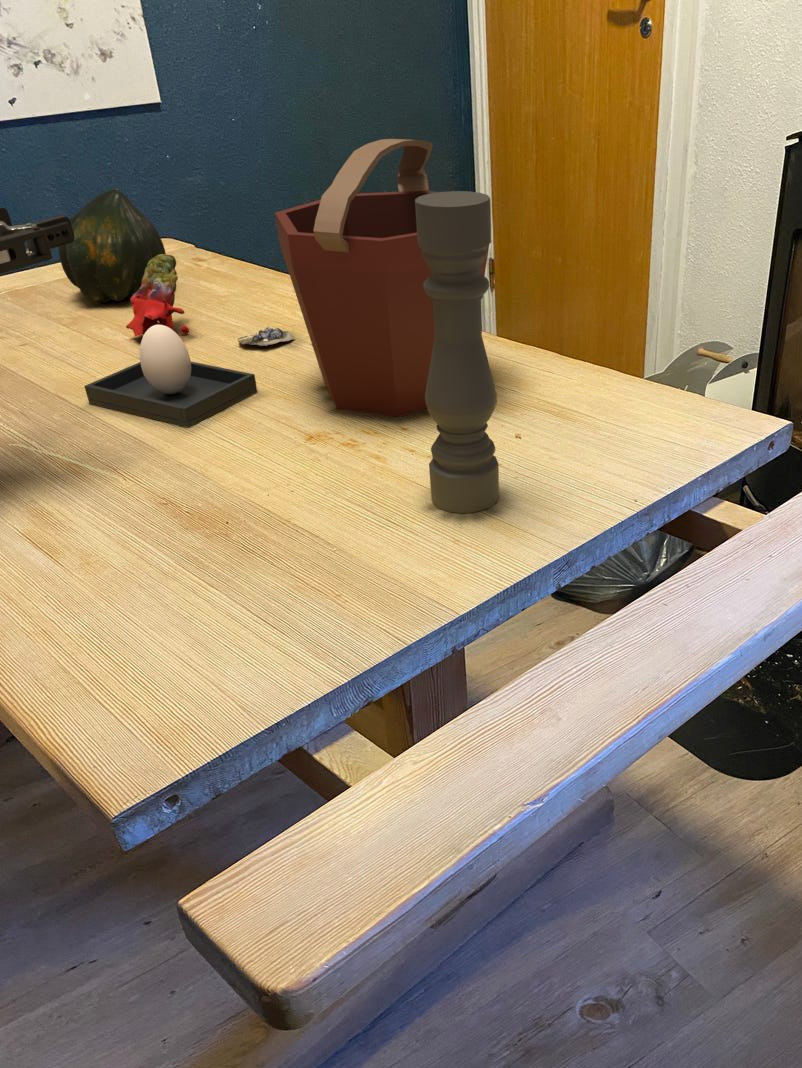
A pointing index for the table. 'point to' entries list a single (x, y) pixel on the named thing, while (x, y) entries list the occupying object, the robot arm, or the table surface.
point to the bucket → (366, 283)
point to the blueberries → (266, 337)
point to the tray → (185, 408)
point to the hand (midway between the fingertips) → (38, 223)
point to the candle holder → (458, 350)
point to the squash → (109, 248)
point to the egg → (165, 359)
